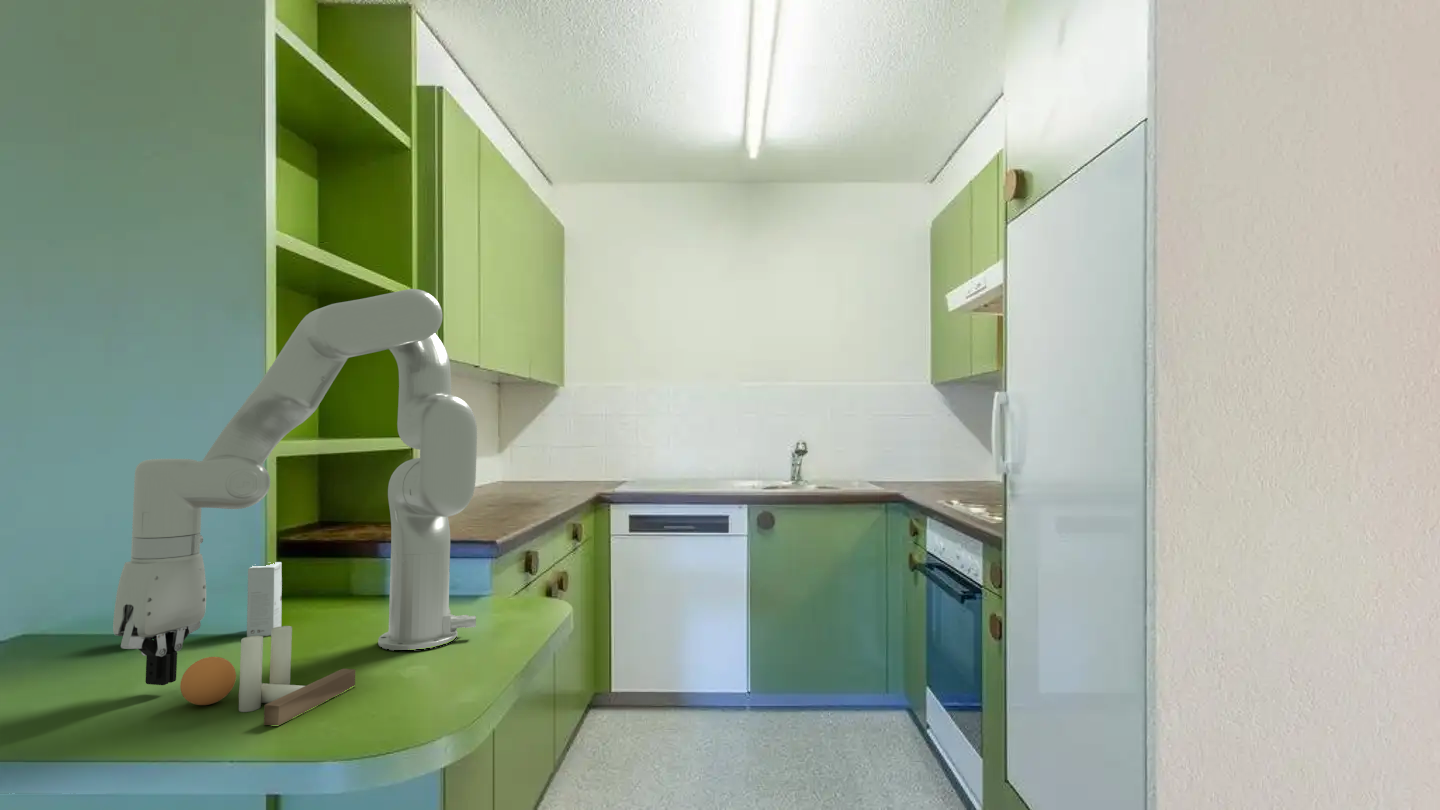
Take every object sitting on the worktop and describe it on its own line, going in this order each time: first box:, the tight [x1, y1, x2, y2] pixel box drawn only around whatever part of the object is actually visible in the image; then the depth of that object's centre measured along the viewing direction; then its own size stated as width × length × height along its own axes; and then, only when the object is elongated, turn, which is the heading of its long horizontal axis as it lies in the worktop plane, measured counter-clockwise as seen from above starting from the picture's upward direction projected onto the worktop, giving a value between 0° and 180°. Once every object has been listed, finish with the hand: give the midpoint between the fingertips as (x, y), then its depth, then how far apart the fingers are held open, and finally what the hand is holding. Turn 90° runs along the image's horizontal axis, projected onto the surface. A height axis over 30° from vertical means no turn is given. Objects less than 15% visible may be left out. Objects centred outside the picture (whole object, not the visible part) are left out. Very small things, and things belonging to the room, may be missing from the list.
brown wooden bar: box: [263, 668, 356, 726], centre depth 94 cm, size 2×14×2 cm, turn 170°
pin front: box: [237, 682, 305, 704], centre depth 95 cm, size 2×2×9 cm
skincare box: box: [246, 561, 283, 637], centre depth 129 cm, size 6×4×12 cm
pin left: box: [238, 636, 264, 713], centre depth 93 cm, size 2×2×9 cm
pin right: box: [269, 625, 293, 685], centre depth 98 cm, size 2×2×9 cm
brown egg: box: [179, 656, 237, 706], centre depth 94 cm, size 6×6×6 cm
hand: (160, 682), depth 98 cm, fingers closed
